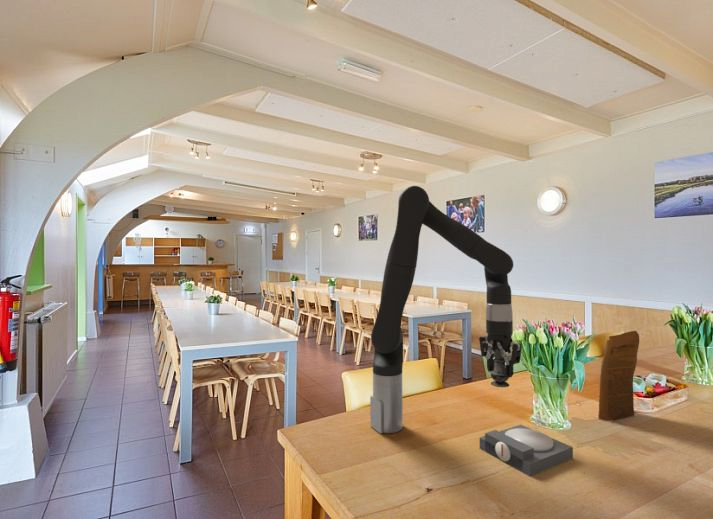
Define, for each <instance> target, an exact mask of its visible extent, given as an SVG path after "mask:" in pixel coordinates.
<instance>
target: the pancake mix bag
mask: <svg viewBox="0 0 713 519" xmlns="http://www.w3.org/2000/svg"><path fill="white" fill-rule="evenodd" d="M639 345H640V334H639V333H638V331H637V330H632V331H627V332H623V333H620V334H614V335H611V336H608V339H607V340H606V344H605V348H604V352H603V357H602V360H601V365H600V366H601V368H600V376H599V397H598V419H599V420H603V421H617V420H620V419H621V420H622V419H625V418H630V417H634V416H635V407H634V405H635V403H634V375H635V371H636V368H637V363H638V361H637V360H638V352H639Z"/></svg>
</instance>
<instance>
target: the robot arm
mask: <svg viewBox="0 0 713 519" xmlns="http://www.w3.org/2000/svg"><path fill="white" fill-rule="evenodd" d="M397 203H398V207H397V208H398V209H397V216H396V217H397V218H396V225H395V226H396V227H395V231H394V234H393V238H392V241H391V245H390V247H389V250H388V255H387V259H386V263H385V267H384V271H383V279H382V285H381V294H380V303H379V307H378V310H377V311H378V312H377V315H376V318H375V321H374V324H373V328H372V330H371V334H370V340H371V344H372V346H373V347H374V355H373V356H374V357H373V361H372V362H373V363H372V395H370V396H369V397H370V407H369V409H370V427H371V428H373V430H375V431H377V433H379V434H394V433H398V432H400V431H401V430H403V425H404V424H403V422H404V421H403V420H404V418H403V416H404V414H403V413H404V412H403V411H404V409H403V401H404V400H403V364H404V332H403V329H402V321H403V316H404V315H403V314H404V309H405V307H406V304H407V301H408V298H409V296H410V293H411V290H412V286H413V283H414V278H415V274H416V270H417V269H416V268H417V266H418V256H419V245H420V244H419V243H420V234H421V230H422V226H425V227H427V228H429V229H430V230H432V231H433V232H435V233H436V234H438V235H439V236H440V237H441V238H442V239H445V241H446V242H448V243H449V244H450V245H452V246H453V247H454V248H456V250H458V251H460V252H461V253H462V254H464V255H465V256H467V258H470V259H473V260H474V261H476V262H478V263H479V264H481V265H482V266H483V268H484V269H483V270H484V277H485V278H484V279H485V284H486V308H485V329H486V330H485V332H486V334H487V336H485V335H484V336H480V337H479V338H478V341H479V348H480V354H481V357H484V358H485V359H486V368H487V372H488V373H490V371H491V370H494V366H495V364H494V360H493V359H495V350H496V349H497V350H498V351H499V352H500V353H501V355H502V357H503V358H504V360H505V376H506V377H507V378H509V379H510V378H512V377H513V376H514V365H515V364H516V365H517V364H519V363H520V362H521V354H522V348H523V347H522V346H523V345H522V343H521V342H519V343H518V342H514V341H513V338H512V336H513V333H514V330H513V329H514V325H513V324H514V321H513V317H514V316H513V315H514V314H513V307H512V289H511V286H510V284H509V278H508V275H509V274H510V273H511V272H512V271H513V268H514V261H513V258H512V257H511V256H510V254H508V253H507V252H506V251H504V250H503V249H501V248H499V247H498V246H496V245H494V244H493V243H491V242H489V241H488V240H486V239H485V238H483V237H482V236H481V235H479V234H478V233H477V232H475V231H474V230H473V229H471V228H469V227H468V226H466V225H464V224H463V223H461V222H459V221H458V220H455V219H454V218H452V217H450V216H448V215H447V214H446V213H444V212H443V211H441V210H440V209H439V208H437V207H436V206H435V205H434V204H433V203H432V202H431V201H430V197H429V195H428V193H427V191H426V190H425V189H424V188H422V187H421V186H418V185H411V186H408V187H406V188H405V189H403V190H402V192H401V193H400V195H399V198H398V202H397Z"/></svg>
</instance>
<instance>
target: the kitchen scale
mask: <svg viewBox="0 0 713 519" xmlns="http://www.w3.org/2000/svg"><path fill="white" fill-rule="evenodd" d="M479 450H482V451H483V452H485V453H487V454H489V455H490V456H493V457H495V458H496V459H498V460H499V461H502V462H503V463H506V464H507V465H509V466H511V467H513V468H514V469H516V470H518V471H520V473H521V472H522V473H523V474H525V475H527V476H528V477H531V476H535V475H537V474H539V473H541V472H544V471H547V470H548V469H549V470H550V469H551V468H553V467H556V466H559V465H561V464H563V463H565V462H568V461H570V460H573V458H574V453H573V452H574V447H573V446H571V445H569V444H566V443H564V442H562V441H559V440H557V439H555V438H552V437H551V436H550V435H547V434H546V433H543V432H541V431H538V430H535V429H532V428H530V427H527V426H524V425H522V424H519V425H516V426H512V427H509V428H506V429H503V430H496V429H494V430H491V431H487V432H485V433H484V435H483V436H480V437H479Z"/></svg>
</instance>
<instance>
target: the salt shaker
mask: <svg viewBox="0 0 713 519" xmlns="http://www.w3.org/2000/svg"><path fill="white" fill-rule="evenodd" d="M493 360H494V364H495V366H494V370H491V371H490V372H489V373H490V377H491V379H492V380H493V381H491V382H490V385H492V386H493V387H497V388H507V387H508V388H509V387H510V384H509V383H508V382H507V381H508V380H509V379H510V377H509V378H507V377H506V376H505V365H506V362H505V360H504V358H503V357H502V355H501V353H500V352H499V351H498V350H497V349H496V350H495V357H494V358H493Z"/></svg>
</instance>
